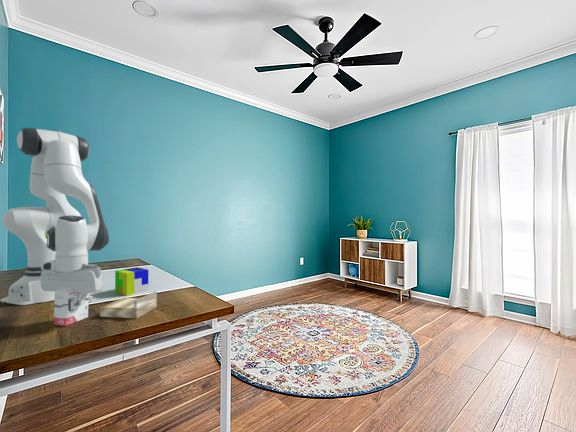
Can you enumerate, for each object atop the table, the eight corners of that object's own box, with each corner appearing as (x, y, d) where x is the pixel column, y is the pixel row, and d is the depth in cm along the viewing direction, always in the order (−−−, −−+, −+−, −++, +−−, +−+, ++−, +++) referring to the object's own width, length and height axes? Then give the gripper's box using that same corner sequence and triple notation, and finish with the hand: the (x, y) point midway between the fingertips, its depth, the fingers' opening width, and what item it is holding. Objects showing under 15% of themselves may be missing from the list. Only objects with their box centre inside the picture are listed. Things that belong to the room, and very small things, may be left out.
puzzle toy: (148, 290, 133) (148, 269, 133) (126, 295, 124) (126, 273, 124) (136, 287, 138) (136, 267, 138) (115, 292, 130) (115, 270, 130)
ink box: (65, 326, 90) (65, 289, 90) (53, 325, 91) (52, 289, 91) (89, 317, 99) (89, 283, 99) (77, 315, 100) (77, 282, 100)
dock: (99, 316, 99) (99, 299, 99) (123, 305, 111) (123, 290, 111) (136, 318, 98) (136, 301, 98) (156, 306, 110) (156, 291, 110)
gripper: (107, 262, 97) (107, 302, 97) (54, 261, 99) (54, 300, 99) (92, 266, 91) (92, 309, 91) (36, 264, 93) (36, 306, 93)
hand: (72, 304), depth 95 cm, fingers closed on ink box, 5 cm apart
